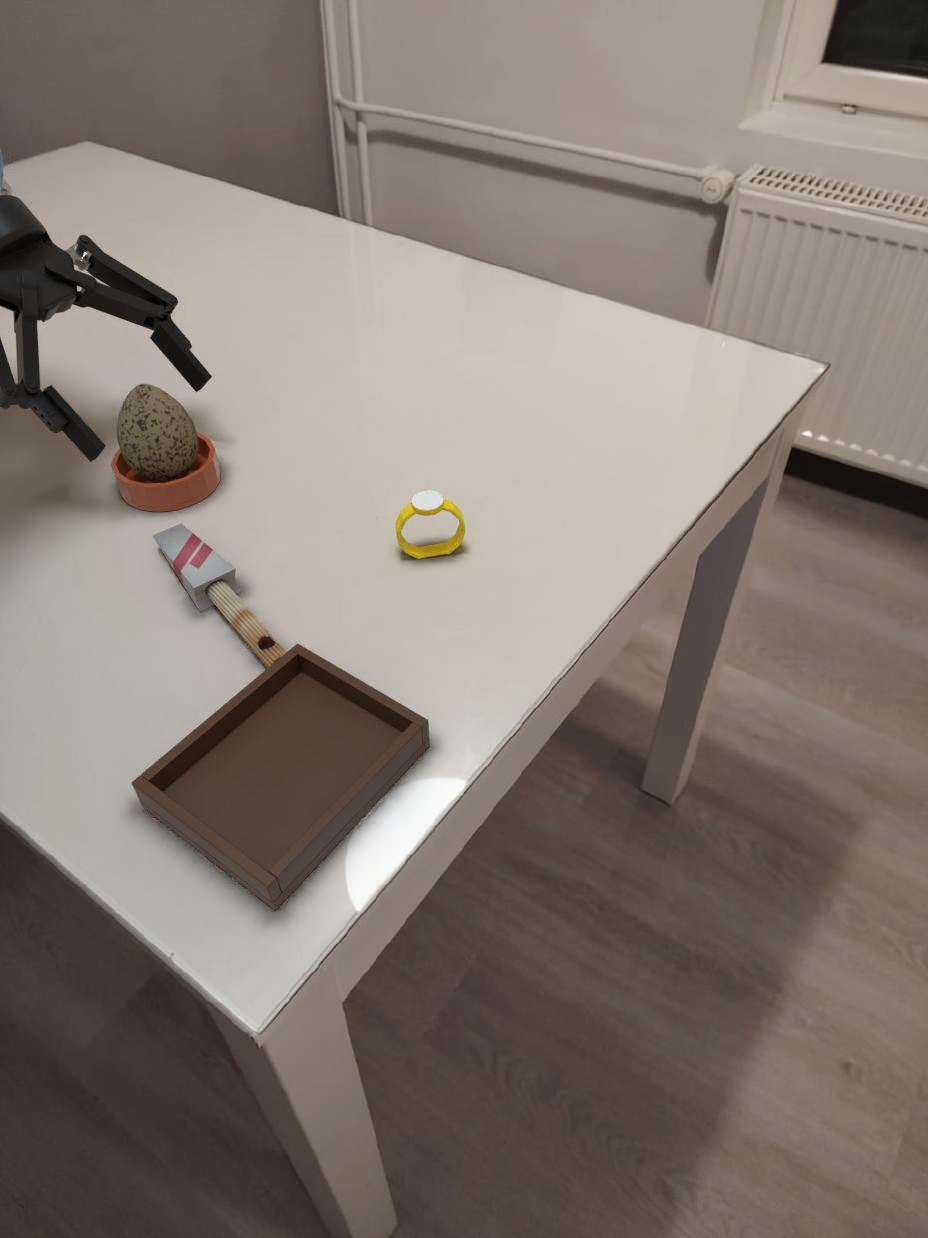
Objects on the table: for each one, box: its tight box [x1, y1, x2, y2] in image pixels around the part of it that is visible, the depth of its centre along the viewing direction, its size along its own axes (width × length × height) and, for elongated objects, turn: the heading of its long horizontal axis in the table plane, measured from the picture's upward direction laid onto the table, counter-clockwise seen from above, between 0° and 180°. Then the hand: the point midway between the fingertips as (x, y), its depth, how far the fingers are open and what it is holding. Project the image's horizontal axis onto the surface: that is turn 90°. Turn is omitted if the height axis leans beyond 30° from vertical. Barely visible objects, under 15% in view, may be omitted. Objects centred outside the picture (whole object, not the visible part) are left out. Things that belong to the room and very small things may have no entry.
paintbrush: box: [152, 523, 287, 668], centre depth 72 cm, size 4×3×20 cm
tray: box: [131, 643, 431, 911], centre depth 60 cm, size 16×13×3 cm
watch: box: [395, 489, 466, 560], centre depth 75 cm, size 6×3×6 cm, turn 100°
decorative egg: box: [116, 383, 198, 483], centre depth 81 cm, size 7×7×10 cm
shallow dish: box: [110, 431, 221, 513], centre depth 84 cm, size 10×10×3 cm
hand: (154, 417), depth 80 cm, fingers open, 13 cm apart
